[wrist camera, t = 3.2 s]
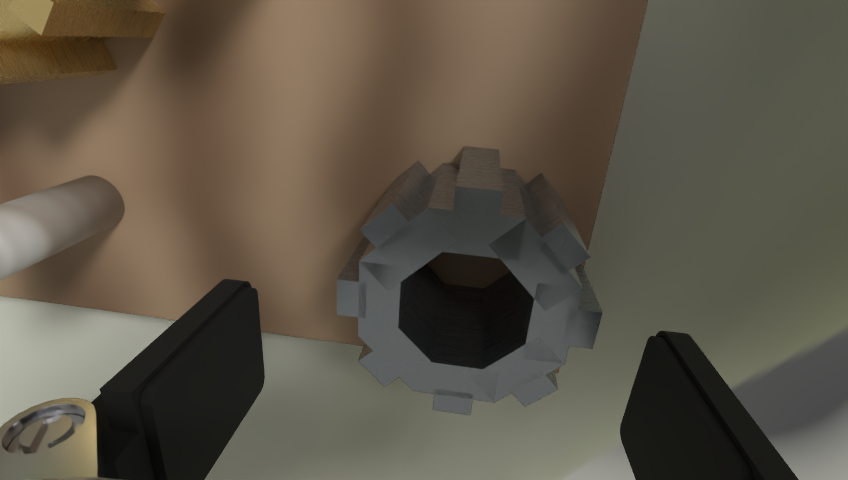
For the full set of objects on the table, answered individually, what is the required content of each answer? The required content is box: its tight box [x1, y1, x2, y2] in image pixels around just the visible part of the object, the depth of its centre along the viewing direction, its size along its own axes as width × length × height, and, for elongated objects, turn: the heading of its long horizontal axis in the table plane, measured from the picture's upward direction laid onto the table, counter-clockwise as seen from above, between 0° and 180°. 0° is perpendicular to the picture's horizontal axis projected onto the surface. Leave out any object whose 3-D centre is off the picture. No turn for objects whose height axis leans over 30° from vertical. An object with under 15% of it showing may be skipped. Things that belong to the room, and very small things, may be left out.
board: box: [0, 0, 648, 373], centre depth 13 cm, size 26×20×8 cm
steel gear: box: [337, 146, 602, 415], centre depth 14 cm, size 7×7×4 cm
